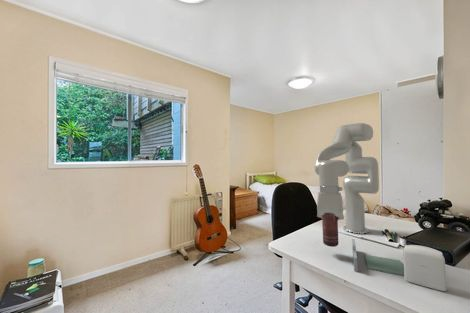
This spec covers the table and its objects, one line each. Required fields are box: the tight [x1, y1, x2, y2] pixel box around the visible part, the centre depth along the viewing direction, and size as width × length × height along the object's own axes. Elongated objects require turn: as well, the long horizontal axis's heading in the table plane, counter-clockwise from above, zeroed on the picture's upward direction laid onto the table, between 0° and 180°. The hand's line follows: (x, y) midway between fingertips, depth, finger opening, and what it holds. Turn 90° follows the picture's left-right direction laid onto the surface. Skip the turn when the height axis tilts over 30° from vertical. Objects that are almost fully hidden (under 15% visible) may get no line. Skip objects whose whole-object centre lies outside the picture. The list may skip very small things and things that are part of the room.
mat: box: [364, 254, 404, 277], centre depth 81 cm, size 12×12×1 cm
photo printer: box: [402, 244, 447, 292], centre depth 68 cm, size 10×4×12 cm, turn 49°
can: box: [321, 213, 339, 248], centre depth 90 cm, size 6×6×14 cm
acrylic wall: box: [351, 238, 359, 273], centre depth 85 cm, size 20×1×5 cm, turn 152°
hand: (330, 231), depth 90 cm, fingers closed
